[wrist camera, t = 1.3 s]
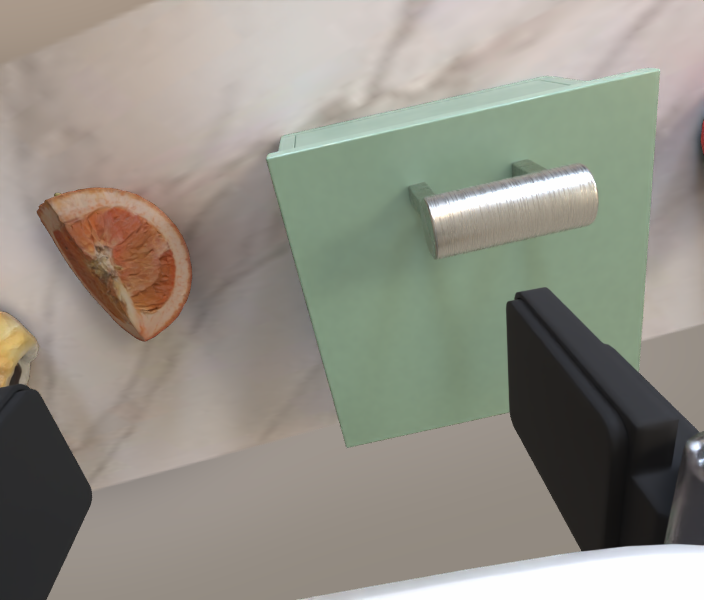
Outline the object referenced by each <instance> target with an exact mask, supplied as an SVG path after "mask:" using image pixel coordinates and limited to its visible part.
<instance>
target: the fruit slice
mask: <svg viewBox="0 0 704 600" xmlns="http://www.w3.org/2000/svg"><path fill="white" fill-rule="evenodd" d="M37 214H38V216H39V218H40V219H41V222H42V223H43V225H44V226H45V228H46V229H47V231H48V232H49V234H50V236H51V237H52V239H53V241H54V243H55V244H56V246H57V247H58V249H59V251H60V252H61V254H62V256H63V257H64V259H65V260H66V262H67V263H68V265H69V266H70V268H71V269H72V271H73V272H74V273H75V275H76V276H77V277H78V279H79V280H80V281H81V283H82V284H83V285H84V287H85V288H86V289H87V291H88V292H89V293H90V294H91V295H92V296H93V298H94V299H95V300H96V301H97V302H98V303H99V304H100V305H101V306H102V307H103V309H104V310H105V311H106V312H107V313H108V314H109V315H110V316H111V317H112V319H113V320H114V321H115V322H116V323H117V324H119V325H120V326H121V327H122V328H123V329H124V330H125V331H127V332H128V333H130V334H131V335H132V336H134V337H135V338H136V339H138V340H141V341H147V340H149V339H151V338H153V337H155V336H156V335H158V334H159V333H160V332H161V331H163V330H164V329H165V328H167V327H168V326H169V325H170V324H171V323H172V322H173V321H174V320H175V319H176V318H177V317H178V315H179V314H180V312H181V310H182V308H183V306H184V304H185V303H186V301H187V299H188V296H189V293H190V288H191V281H192V267H191V262H190V256H189V251H188V248H187V246H186V243H185V241H184V239H183V237H182V235H181V233H180V232H179V230H178V228H177V227H176V225H175V224H174V223H173V222H172V221H171V220H170V219H169V218H168V217H167V216H166V214H165V213H163V212H162V211H161V210H160V209H159V208H158V207H157V206H156V205H154V204H153V203H151V202H149V201H148V200H146V199H144V198H142V197H140V196H139V195H137V194H133V193H131V192H128V191H122V190H118V189H114V188H87V189H80V190H76V191H71V192H66V193H63V194H61V193H55V194H54V197H53V198H50V199H47V200H45V201H44V203H42V204H41V205H40V206H39V209H38V210H37Z"/></svg>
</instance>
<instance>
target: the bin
mask: <svg viewBox="0 0 704 600" xmlns="http://www.w3.org/2000/svg"><path fill="white" fill-rule="evenodd" d="M582 82H587V81H581V80H574V79H567V78H560V77H552V76H543V77H539V78H534V79H530V80H526V81H521V82H517V83H513V84H508V85H504V86H499V87H495V88H491V89H486V90H482V91H477V92H473V93H469V94H464V95H460V96H455V97H451V98H447V99H442V100H438V101H433V102H429V103H425V104H420V105H416V106H411V107H407V108H403V109H398V110H394V111H389V112H385V113H381V114H376V115H372V116H368V117H363V118H359V119H354V120H350V121H346V122H341V123H337V124H332V125H328V126H324V127H319V128H315V129H310V130H306V131H302V132H297V133H293V134H288V135H284V136H282V137H281V140H280V145H279V150H278V152H279V151H283V150H288V149H292V148H296V147H301V146H305V145H310V144H314V143H318V142H323V141H327V140H332V139H336V138H340V137H345V136H349V135H354V134H358V133H362V132H367V131H371V130H376V129H380V128H384V127H389V126H393V125H398V124H402V123H406V122H411V121H415V120H420V119H424V118H428V117H433V116H437V115H442V114H446V113H450V112H455V111H459V110H464V109H468V108H472V107H477V106H481V105H486V104H490V103H494V102H499V101H503V100H508V99H512V98H516V97H521V96H525V95H530V94H534V93H538V92H543V91H547V90H552V89H556V88H560V87H565V86H569V85H574V84H578V83H582Z"/></svg>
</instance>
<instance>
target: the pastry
mask: <svg viewBox="0 0 704 600" xmlns="http://www.w3.org/2000/svg"><path fill="white" fill-rule="evenodd" d="M38 349H39V345H38V342H37V340H36V339H35V337H34V336H33V335H32V334H31V333H30V332H29V331H28V330H27V329H26V328H25V327H24V326H23V325H22V324H21V323H20V322H19V321H18V320H17V319H15V318H14V317H13V316H11V315H10V314H8V313H6V312H1V311H0V387H6V386H11V385H17V384H24V385H26V384H27V382H28V379H29V377H30V375H29V372H30V362H31V361H33V360H34V359H35V358H36V356H37V353H38Z"/></svg>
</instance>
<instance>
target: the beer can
mask: <svg viewBox="0 0 704 600" xmlns="http://www.w3.org/2000/svg"><path fill="white" fill-rule="evenodd" d="M701 145H702V150H703V154H704V121H703V124H702V134H701Z"/></svg>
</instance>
